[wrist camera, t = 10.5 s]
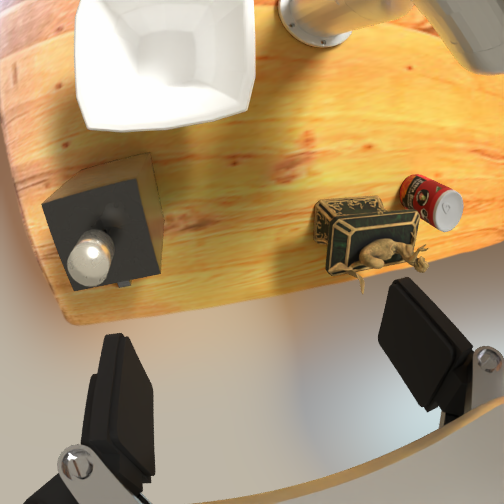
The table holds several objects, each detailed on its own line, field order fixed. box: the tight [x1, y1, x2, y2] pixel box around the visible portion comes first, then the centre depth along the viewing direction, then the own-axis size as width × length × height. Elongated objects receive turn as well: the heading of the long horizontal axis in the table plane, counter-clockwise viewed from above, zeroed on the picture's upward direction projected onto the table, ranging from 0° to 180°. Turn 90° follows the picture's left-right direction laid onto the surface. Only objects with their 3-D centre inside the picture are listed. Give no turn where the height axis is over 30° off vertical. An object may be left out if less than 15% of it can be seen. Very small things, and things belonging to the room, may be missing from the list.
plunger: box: [67, 229, 115, 286], centre depth 34 cm, size 9×9×20 cm
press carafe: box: [41, 152, 165, 291], centre depth 38 cm, size 14×11×16 cm
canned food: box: [400, 174, 463, 232], centre depth 51 cm, size 8×8×11 cm
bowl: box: [74, 0, 255, 132], centre depth 30 cm, size 19×19×14 cm
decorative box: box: [314, 196, 429, 294], centre depth 46 cm, size 20×10×20 cm, turn 92°
